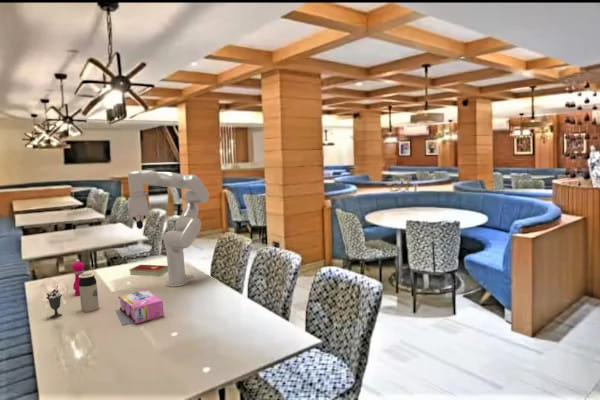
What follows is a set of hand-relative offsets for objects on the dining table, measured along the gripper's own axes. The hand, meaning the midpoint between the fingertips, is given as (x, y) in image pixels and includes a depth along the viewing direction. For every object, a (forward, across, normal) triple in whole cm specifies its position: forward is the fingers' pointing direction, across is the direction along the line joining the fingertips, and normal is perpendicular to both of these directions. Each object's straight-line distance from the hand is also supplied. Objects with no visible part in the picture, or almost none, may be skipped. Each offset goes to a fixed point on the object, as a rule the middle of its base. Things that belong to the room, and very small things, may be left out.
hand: (140, 228), depth 235 cm
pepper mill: (+37, +30, -25) cm, 54 cm away
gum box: (+33, +1, +27) cm, 42 cm away
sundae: (+37, +43, +5) cm, 57 cm away
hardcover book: (+38, -11, -44) cm, 59 cm away
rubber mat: (+37, +10, +26) cm, 46 cm away
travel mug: (+37, +28, +5) cm, 47 cm away
